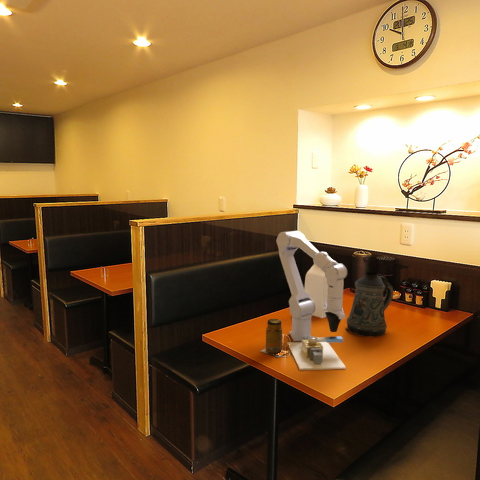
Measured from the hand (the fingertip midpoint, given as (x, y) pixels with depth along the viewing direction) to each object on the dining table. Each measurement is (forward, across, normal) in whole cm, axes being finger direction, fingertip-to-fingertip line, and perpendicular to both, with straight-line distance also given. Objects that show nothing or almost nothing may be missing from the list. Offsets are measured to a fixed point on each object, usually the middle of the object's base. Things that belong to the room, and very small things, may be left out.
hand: (333, 331), depth 155 cm
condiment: (+8, -2, -22) cm, 23 cm away
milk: (+8, -43, +11) cm, 45 cm away
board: (+8, +4, -8) cm, 12 cm away
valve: (+8, +4, -10) cm, 13 cm away
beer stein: (+8, -18, +24) cm, 31 cm away
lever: (+2, +4, -5) cm, 7 cm away
